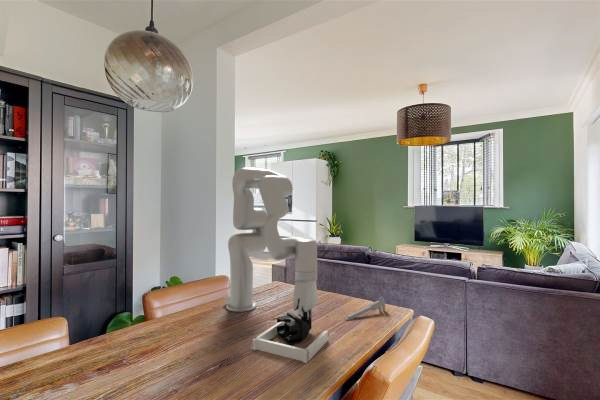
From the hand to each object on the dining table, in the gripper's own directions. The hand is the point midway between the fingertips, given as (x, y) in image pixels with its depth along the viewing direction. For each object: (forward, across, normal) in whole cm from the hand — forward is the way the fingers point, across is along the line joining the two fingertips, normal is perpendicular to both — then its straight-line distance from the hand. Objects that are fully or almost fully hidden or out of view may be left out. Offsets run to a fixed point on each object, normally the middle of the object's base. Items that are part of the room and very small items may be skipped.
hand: (306, 329), depth 105 cm
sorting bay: (+1, +10, 0) cm, 10 cm away
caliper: (+2, -26, +14) cm, 29 cm away
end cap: (+2, +6, -2) cm, 6 cm away
